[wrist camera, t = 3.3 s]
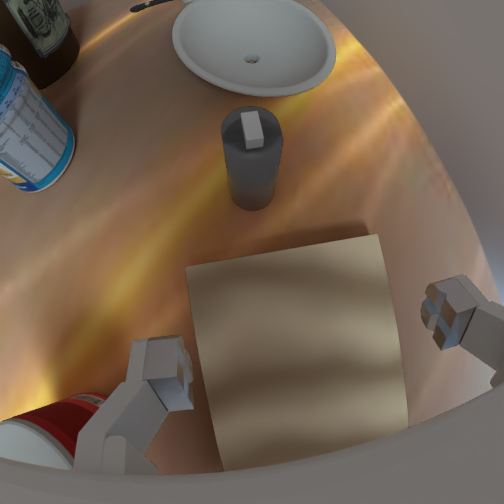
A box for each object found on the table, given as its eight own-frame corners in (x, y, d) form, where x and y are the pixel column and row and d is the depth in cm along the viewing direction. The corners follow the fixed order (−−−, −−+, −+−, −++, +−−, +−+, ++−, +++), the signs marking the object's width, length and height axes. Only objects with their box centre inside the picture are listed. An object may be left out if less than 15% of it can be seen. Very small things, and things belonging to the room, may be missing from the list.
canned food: (50, 411, 22) (-30, 441, 12) (107, 374, 23) (28, 399, 13) (98, 480, 21) (38, 537, 10) (161, 449, 22) (113, 516, 11)
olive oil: (5, 99, 29) (-92, -16, 5) (40, 43, 32) (-28, -73, 7) (61, 92, 29) (-41, -63, 5) (97, 32, 31) (35, -112, 7)
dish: (159, 44, 30) (150, 13, 25) (269, 8, 32) (270, -22, 27) (226, 154, 27) (221, 122, 22) (356, 101, 29) (371, 69, 24)
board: (403, 458, 22) (410, 464, 20) (234, 499, 21) (233, 508, 20) (370, 238, 26) (377, 233, 24) (188, 269, 25) (184, 266, 24)
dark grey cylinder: (267, 159, 27) (274, 93, 18) (277, 206, 26) (290, 153, 17) (225, 165, 27) (216, 101, 18) (233, 214, 26) (226, 162, 17)
